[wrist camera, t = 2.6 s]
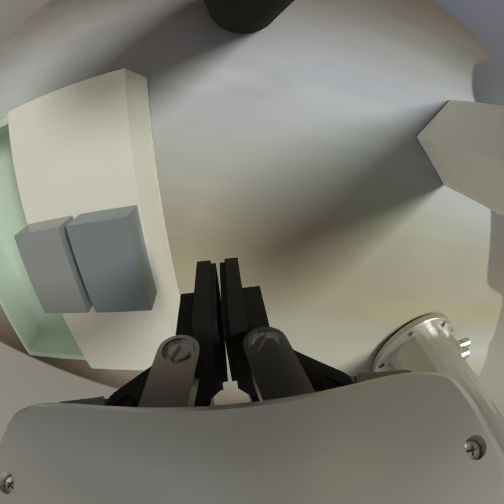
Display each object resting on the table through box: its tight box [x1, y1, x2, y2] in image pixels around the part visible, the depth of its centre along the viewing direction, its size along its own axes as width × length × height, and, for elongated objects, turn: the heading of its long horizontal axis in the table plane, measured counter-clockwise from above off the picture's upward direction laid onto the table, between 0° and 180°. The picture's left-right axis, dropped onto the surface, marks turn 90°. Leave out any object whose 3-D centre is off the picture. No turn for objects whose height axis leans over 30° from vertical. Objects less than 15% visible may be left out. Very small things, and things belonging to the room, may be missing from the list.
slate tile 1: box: [66, 205, 157, 313], centre depth 16 cm, size 4×6×2 cm, turn 3°
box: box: [0, 116, 86, 360], centre depth 19 cm, size 9×22×4 cm, turn 3°
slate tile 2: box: [14, 215, 93, 313], centre depth 16 cm, size 4×6×2 cm, turn 3°
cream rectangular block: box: [7, 68, 180, 370], centre depth 19 cm, size 9×22×5 cm, turn 3°
